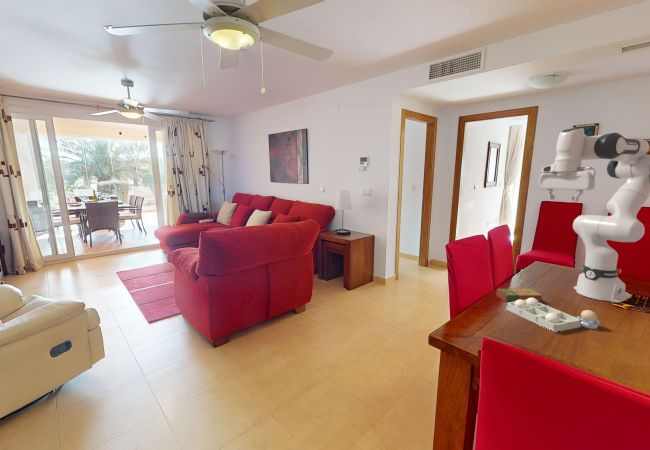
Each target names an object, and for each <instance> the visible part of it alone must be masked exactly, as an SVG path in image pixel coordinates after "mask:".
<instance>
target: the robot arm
mask: <svg viewBox="0 0 650 450" xmlns="http://www.w3.org/2000/svg"><path fill="white" fill-rule="evenodd" d="M649 150H650V144H649V141H647V140H645V139H643V138H642V137H636V136H629V135H628V136H627V135H626V136H625V135H624V136H623V135H622V134H620V133H618V132H611V133H606V134H599V135H598V134H597V135H591V136H588V135H587V134H585V129H584V128H583V127H573V128H567V129H564V130H561V131H560V132H559V135H558V137H557V141H556V145H555V153H556V156H555V159H554V163H552V164H549V165H545V166H543V167H541V170H540V171H541V174H540V176H539V179H538V186H537V187H539V189H540V190H546V193H547V195H548V200H552V201H553V200H555V198H556V195H554V194H553V192H554V190H565V191H566V190H567V191H575V193H576V194H575V195H574V196H572V198H571V202H572V201H573V202H579V200H580V197H581V196H582V194H584V191H593V190H594V189H595V185H596V179H595V178H596V177H595V176H596V169H595V168H593V167H592V166H583V167H582V162H583V161H587V160H600V159H601V160H608V161H609V162H608V164H607V167H606V172H607V173H606V174H607V175H608V176H609V177H610V178H614V179H627V180H626V182H624V183H623V184H622V185H621V186H620V187H619V188H618V189H617V190H616V192H615V193H614V194H613V195H612V197H611V198H610V199H609V200H608V201H607V202H606V210H607V212H609V213H610V215H600V214H581V215H578V216H577V217H576V218H575V219H574V220H573V223H572V229H573V231H574V232H575V233H576V234H577V235H578V236H579V237H580V239H581V240H582V242H583V244H584V248H585V259H584V264H583V266H582V268H581V269H582V273H580V274H579V275H578V279H577V283H576V285H574V286H573V289H574V290H575V291H576V293H578V294H579V295H580V296H584V297H586V298H590V299H594V300H598V301H605V302H606V301H607V302H612V303H622V302H624V301H626V300H629V299H630V298H632V294H630V293H628V292H626V288H627V287H626V283H625V282H623V281H622V280H621V279H620V278H619V276H618V274H621V273H622V269H621V268H617V265H618V259H619V254H618V252H617V251H616V250H615V249H614V248H613V247H611V246H610V245H609V244H608V242H607V241H613V242H617V243H618V242H619V243H636V242H637V241H639V240H641V239H642V238H643V236H644V235H645V231H646V230H645V226H644V224H643V223H642V222H641V221H640V220H639V219H638V218H637V215H638V213H639V211H640V210H641V208H642V207H643V206H644V204H645V203H646V202H647V200H648V199H649V197H650V154H648V151H649ZM609 213H608V214H609Z"/></svg>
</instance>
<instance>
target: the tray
mask: <svg viewBox="0 0 650 450" xmlns="http://www.w3.org/2000/svg"><path fill="white" fill-rule="evenodd" d="M524 301H525V302H526V300H524ZM514 303H515V302H509V303H507V302H506V308H505V310H506V311H509V312H511V313H512V314H515V315H517V316H519V317H521V318H523V319H525V320H527V321H529V322H531V321H532V322H531V323H533V322H534V324H535V323H536V325H537V324H538V325H537V326H540V327H542V326H543V327H542V328H544V327H545V328H544V329H546V328H547V329H546V330H548V329H549V330H548V331H550V330H552V331H554V332H555V333H559V332H558V331H560V332H564V330H565V331H567V330H569V331H570V330H574V329H579V328H581V327H582V326H581V319H578V318H577V316H573V315H571V314H568V313H567V312H564V311H561V310H559V309H557V308H554V307H551V306H549V305H546V304H543V303H542V302H541V303H539V305H538V306H537V307H533V306H530V305H528V304H527V308H525V309H521V308H518V307H516V306H515V305H514ZM548 313H554V314H556V315H558V316H559V318H560V323H558V324H553V323H551V322H549V321H547V320H545V316H546V315H547V314H548ZM552 331H551V332H552ZM554 332H553V333H554Z"/></svg>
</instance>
